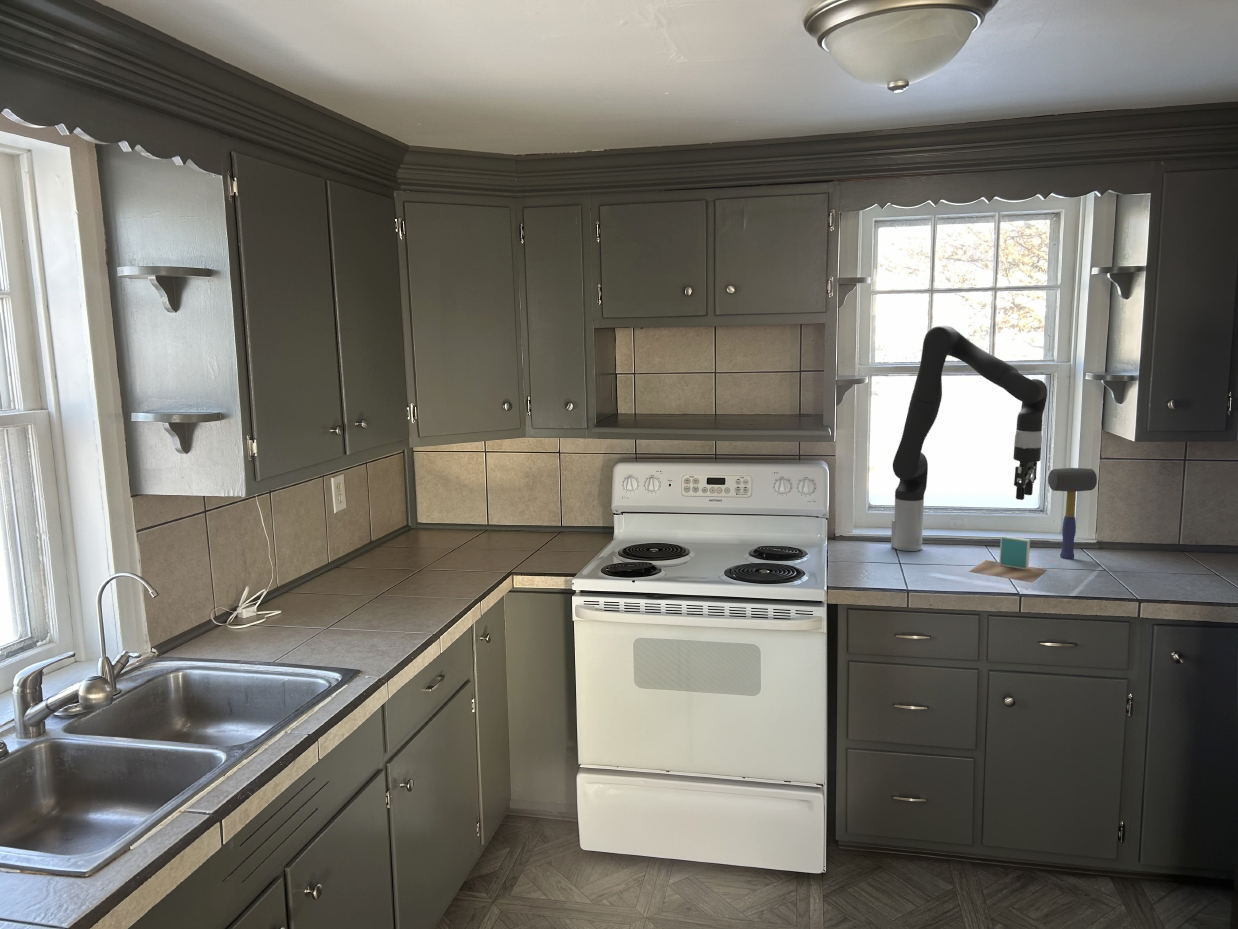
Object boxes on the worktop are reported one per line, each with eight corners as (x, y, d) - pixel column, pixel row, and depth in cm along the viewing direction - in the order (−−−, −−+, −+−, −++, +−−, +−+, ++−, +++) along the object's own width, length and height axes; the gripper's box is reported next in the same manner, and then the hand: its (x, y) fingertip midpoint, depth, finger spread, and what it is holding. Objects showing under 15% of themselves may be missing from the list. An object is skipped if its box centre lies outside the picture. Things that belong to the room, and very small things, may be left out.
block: (999, 565, 263) (1000, 536, 262) (1000, 563, 264) (1002, 535, 263) (1026, 569, 258) (1028, 540, 256) (1028, 568, 259) (1030, 539, 258)
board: (968, 575, 257) (968, 571, 257) (985, 563, 269) (986, 560, 269) (1032, 586, 245) (1032, 582, 245) (1047, 573, 257) (1047, 569, 257)
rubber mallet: (1052, 564, 267) (1058, 470, 262) (1041, 558, 274) (1047, 466, 269) (1092, 564, 266) (1099, 469, 261) (1081, 557, 274) (1087, 465, 269)
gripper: (1021, 441, 268) (1018, 492, 271) (1007, 446, 257) (1003, 499, 260) (1047, 443, 263) (1043, 495, 266) (1034, 449, 252) (1030, 502, 255)
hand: (1024, 497), depth 263 cm, fingers open, 8 cm apart
